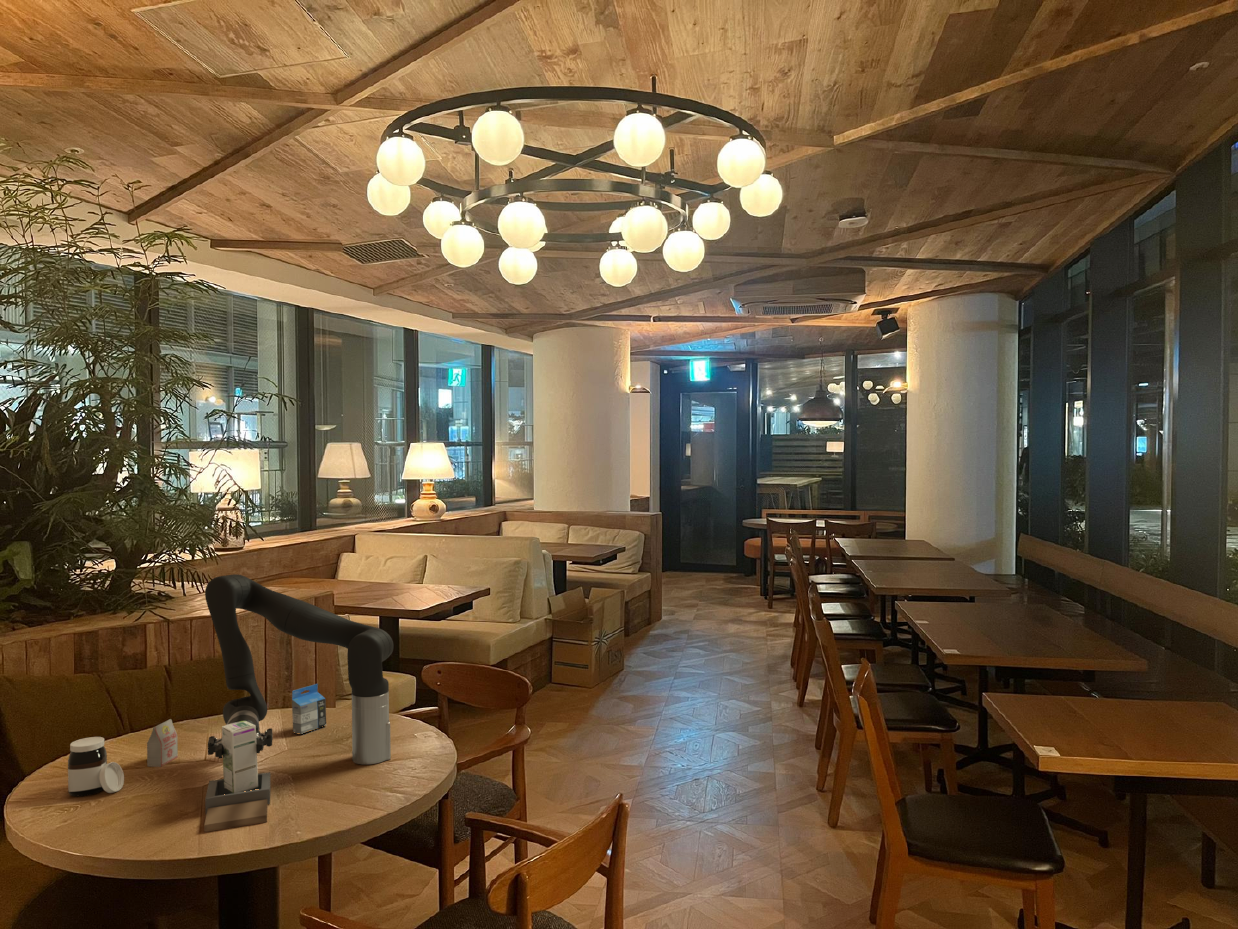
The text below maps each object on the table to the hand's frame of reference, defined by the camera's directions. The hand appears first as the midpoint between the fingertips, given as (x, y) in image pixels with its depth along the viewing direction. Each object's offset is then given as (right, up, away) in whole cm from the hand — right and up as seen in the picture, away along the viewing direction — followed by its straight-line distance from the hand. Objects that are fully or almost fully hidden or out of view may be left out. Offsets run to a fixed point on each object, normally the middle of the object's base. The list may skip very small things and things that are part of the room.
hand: (239, 751), depth 185 cm
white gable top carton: (-32, -12, +27) cm, 44 cm away
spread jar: (-38, -12, +8) cm, 41 cm away
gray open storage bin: (-1, -12, +2) cm, 12 cm away
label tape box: (-3, -12, +51) cm, 52 cm away
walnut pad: (+3, -12, -8) cm, 14 cm away
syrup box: (-1, -9, +2) cm, 10 cm away
